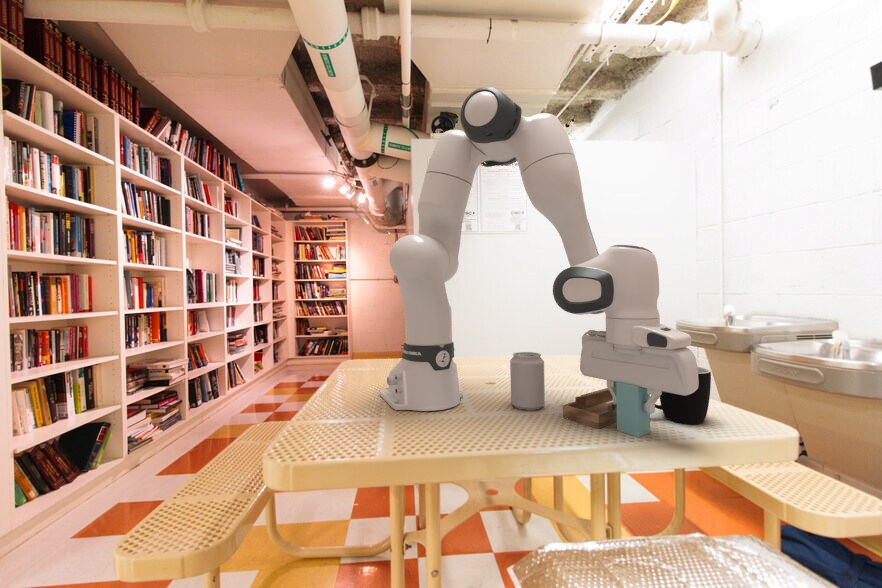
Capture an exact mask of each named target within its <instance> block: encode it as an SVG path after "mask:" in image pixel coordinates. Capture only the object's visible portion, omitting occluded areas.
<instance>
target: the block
mask: <svg viewBox="0 0 882 588" xmlns="http://www.w3.org/2000/svg"><path fill="white" fill-rule="evenodd" d="M616 395H617V422H616V431H617V432H620V433H624V434H627V435H630V436H634V437H637V438H641V437H642V436H645V435H647V434H649V433H651V414H649V413H645V412H642V402H645V401H648V399H649V398H650V396H651V395H649V394H648V390H647V388H644V387H639V386H637V385H632V384H627V383H622V382H616Z"/></svg>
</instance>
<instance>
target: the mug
mask: <svg viewBox="0 0 882 588" xmlns="http://www.w3.org/2000/svg"><path fill="white" fill-rule="evenodd" d="M697 369H698V380H699V385H698V389H697V390H696V391H695V392H694V393H692V394H689V395H679V394H674V393H669V392H664V391H662V394H661V396H660V397H659V400H660V401H659V402H660V404H656V403H655V409H657V410H661V411H662V413H663V415H664V417H665V419H667V420H670V421H672V422H675V423H679V424H685V425H699V424H702V423H704V421H705V420H706V417H707V415H708V410H709V407H710V406H709V404H710V397H711V387H712V386H711V385H712V373H711V370H710V369H709V368H706V367H702V366H698V365H697Z"/></svg>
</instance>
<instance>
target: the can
mask: <svg viewBox="0 0 882 588" xmlns="http://www.w3.org/2000/svg"><path fill="white" fill-rule="evenodd" d="M512 356H513V357H511V359H510V361H509V363H510V364H509V366H510V367H509V368H510V373H509V374H510V403H511V404H512V405H513V406H514V408H515V409H518V408H520V409H519V410H521V409H526V410H525V411H536V410H535V409H538V410H540V409H541V408H542V407H544V405H545V404H546V397H545V392H546V391H545V389H546V388H545V361H544V360H543V358H542V357H541V356H542V354H541V353H539V352H534V351H533V352H532V351H520V352H519V351H518V352H514V353H512ZM539 408H540V409H539Z"/></svg>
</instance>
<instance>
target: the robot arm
mask: <svg viewBox="0 0 882 588" xmlns="http://www.w3.org/2000/svg"><path fill="white" fill-rule="evenodd" d="M522 111H523V110H522V108H521V106H520V105H519V104H517V102H515V101H513V100H512V99H511V98H510V97H509V96H508V95H507V94H506V93H504V92H503V91H501V90H500V89H498V88H495V87H492V86H482V87H479V88H476V89H475V90H473V91H472V92H471V93H469V95H468V96H466V98H465V100H464V101H463V103H462V105H461V108H460V114H459V116H460V125H461V127H462V130H461V129H449V130H446V131H444V132H443V133H442V134H441V135H440V136H439V138H438V139H437V142H436V144H435V146H434V148H433V151H432V153H431V155H430V159H429V162H428V165H427V168H426V172H425V175H424V178H423V183H422V187H421V191H420V194H419V198H418V202H417V214H418V233H414V234H408V235H404V236H401V237H400V238H399V239H397V240H395V242H394V244H393V245H392V247H391V249H390V252H389V264H390V268H391V270H392V271H393V272H394V274H395V276H396V279H397V282H398V286H399V291H400V294H401V299H402V300H401V301H402V303H403V309H404V310H403V311H404V332H405V334H404V335H405V341H404V343H403V344H401V347H402V348H401V350H402V351H401V355H400V356H401V359H400V360H399V361H398V362H397V364H396V365H395V366H394V367H393V368H392V369H391V370H390V371H389V374H388V376H387V377H386V383H387V386H388V387H386V388H383V389H381V390H380V391H379V396H380V397H381V398H382V399H383V400H384V401H385V402H386V403H387V404H388V405H389V406H390V407H391V408H392V409H393V410H396V411H406V410H407V411H418V412H430V411H431V412H432V411H433V412H434V411H442V410H449V409H451V408H453V407H454V408H455V407H457V406H458V405H459V404H460V403H461V398H462V397H463V391H461V390H460V383H459V374H458V367H457V364H456V362H455V361H454V359H453V358H455V344H454V341H453V323H452V322H453V321H452V319H453V318H452V307H451V305H450V303H449V299H448V294H447V289H446V284H445V283H447V282H448V281H450V280H451V279H452V278H453V277H454V276H455V275H456V273H457V272H458V269H459V254H460V253H459V252H460V247H461V238H462V237H461V236H462V229H463V221H464V216H465V213H466V209H467V206H468V202H469V197H470V195H471V190H472V186H473V182H474V178H475V175H476V173H477V170H478V168H479V166H480V165H482V166H484V167H485V168H488V167H489V168H490V167H494V166H496V167H497V166H509V165H512V164H515V163H516V162H517V165H518V168H519V173H520V176H521V180H522V184H523V187H524V191H525V192H526V194H527V197H528V199H529V200H530V203H531V205H532V206H533V208H535V210H537V211H538V212H539V213H540V214H541V215H543V217H545V219H547V221H549V222H550V223H551V224H552V226H553V227H554V228H555V229H556V231H557V233H558V235H559V237H560V239H561V241H562V246H563V248H564V251H565V254H566V257H567V260H568V264H569V267H567V268H565V269H563V270H561V272H559V274H557V275H556V278H554V282H553V286H552V295H553V298H554V302H556V305H558V307H559V308H561V309H562V310H563V311H565V312H566V313H570V314H573V315H598V314H603V313H604V314H605V330H595V329H590V330H588V331H586V332H585V333H583V335H582V336H581V346H582V347H581V351H580V352H581V353H580V360H579V361H580V362H579V370H580V372H581V374H582V375H583V376H584V377H590V378H594V379H597V380H598V379H600V380H605V381H606V388H608V389H609V391H610V393H611V394H612V396H613V404H614V405H617V395H616V382H622V383H627V384H632V385H637V386H639V387H644V388H647V390H648V394H649V395H650V398H649V399H648V401H645V402H642V412H645V413H649V414H650V415H652V414H654V413H655V412H656V408H655V404H656V403H657V402H658V400H660V396H661V394H662V391H664V392H669V393H674V394H679V395H689V394H692V393H694V392H695V391H696V390H697V389H698V385H699V380H698V369H697V366H698V365H697V359H696V356H695V354H694V352H693V351H692V350H691V349H690V348H688V347H690V346H691V345H692V336H691V335H690V334H689V333H687V332H684V331H682V330H679V329H675V328H673V327H671V326H667V325H665V324H662V323H661V321H660V320H661V316H660V311H659V309H658V299H659V296H660V277H659V276H660V275H659V274H660V273H659V267H658V261H657V258H656V255H655V254H654V253H653V252H652V251H651V250H649V249H647V248H646V247H643V246H638V245H637V246H636V245H631V244H630V245H629V244H628V245H627V244H616V245H612V246H609V247H608V248H606V250H605V251H604V252H601V253H599V251H598V248H597V245H596V241H595V239H594V236H593V232H592V230H591V227H590V223H589V220H588V217H587V216H588V215H587V211H586V206H585V200H584V193H583V186H582V181H581V175H580V170H579V165H578V162H577V159H576V155H575V153H574V149H573V146H572V143H571V141H570V139H569V136H568V134H567V132H566V130H565V128H564V126H563V125H562V123H561V120H560V119H559V118H558V117H557V116H556V115H554V114H552V113H549V112H548V113H547V112H542V113H541V112H540V113H537V114H534V115H531V116H525V115H523V114H522Z"/></svg>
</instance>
